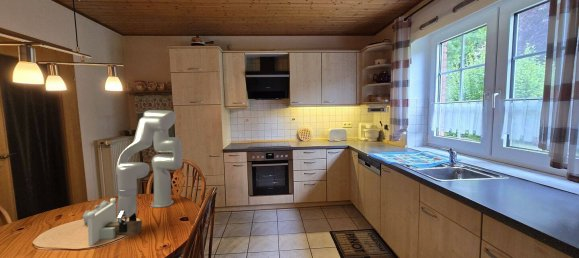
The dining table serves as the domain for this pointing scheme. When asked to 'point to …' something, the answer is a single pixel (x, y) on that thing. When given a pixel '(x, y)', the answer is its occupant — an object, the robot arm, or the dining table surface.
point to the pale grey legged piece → (102, 223)
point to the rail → (132, 227)
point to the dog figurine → (101, 206)
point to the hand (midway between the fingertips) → (128, 227)
